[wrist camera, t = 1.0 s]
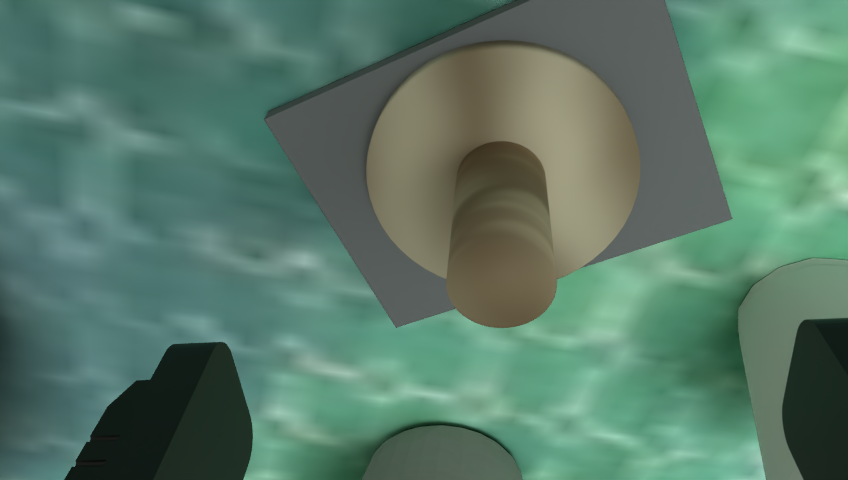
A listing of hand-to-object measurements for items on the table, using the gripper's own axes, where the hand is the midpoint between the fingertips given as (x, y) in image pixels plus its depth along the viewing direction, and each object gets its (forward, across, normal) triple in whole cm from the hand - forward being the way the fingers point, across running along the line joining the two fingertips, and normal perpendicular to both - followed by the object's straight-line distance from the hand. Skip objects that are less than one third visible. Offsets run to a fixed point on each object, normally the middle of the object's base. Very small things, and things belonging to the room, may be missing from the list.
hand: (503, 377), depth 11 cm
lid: (+20, 0, +6) cm, 21 cm away
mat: (+21, 0, +6) cm, 22 cm away
